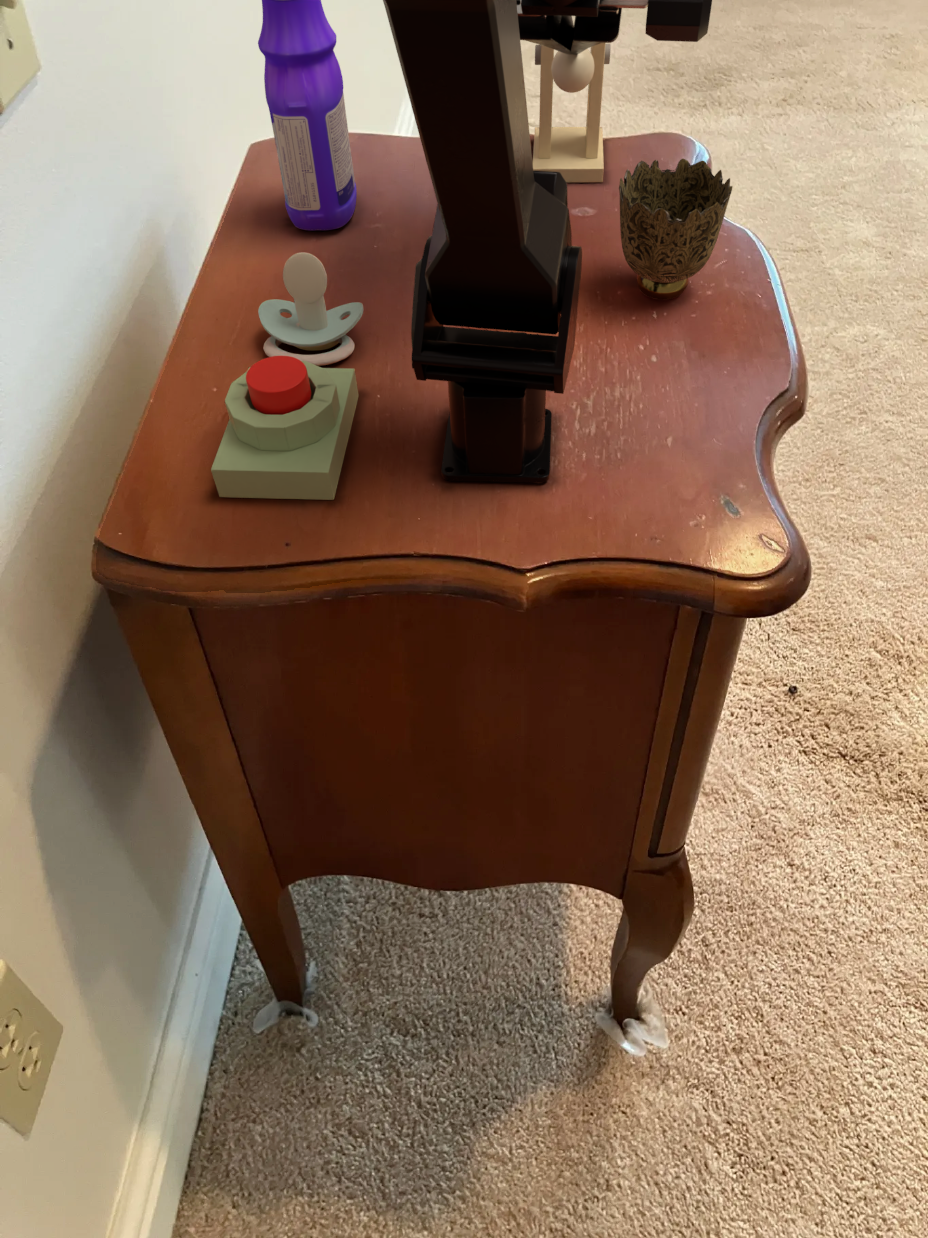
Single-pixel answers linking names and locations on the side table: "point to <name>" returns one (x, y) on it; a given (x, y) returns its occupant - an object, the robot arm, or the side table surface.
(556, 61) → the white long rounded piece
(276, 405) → the alarm button
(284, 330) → the pacifier
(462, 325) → the robot arm
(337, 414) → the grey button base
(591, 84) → the egg display stand
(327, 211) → the bottle
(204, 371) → the side table surface
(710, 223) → the cup
